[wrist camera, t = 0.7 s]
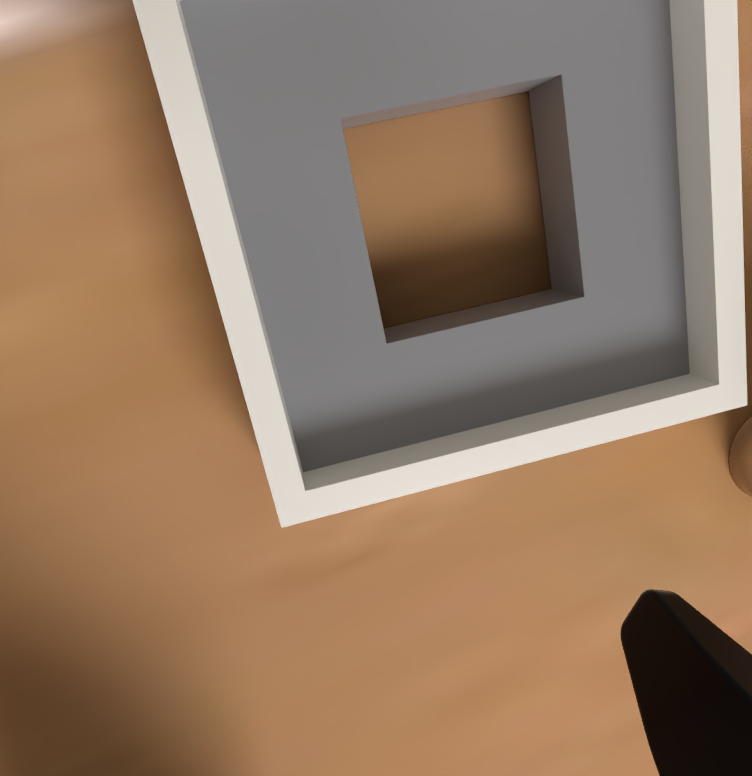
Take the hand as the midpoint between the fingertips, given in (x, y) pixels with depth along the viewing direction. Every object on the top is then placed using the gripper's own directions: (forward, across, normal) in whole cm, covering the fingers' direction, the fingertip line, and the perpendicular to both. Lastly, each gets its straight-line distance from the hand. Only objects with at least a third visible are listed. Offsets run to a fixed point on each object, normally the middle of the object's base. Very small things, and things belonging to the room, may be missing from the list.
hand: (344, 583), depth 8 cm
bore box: (+15, -4, -2) cm, 16 cm away
